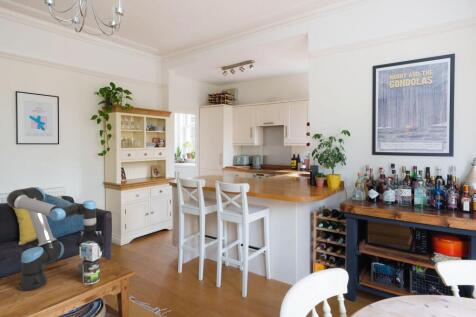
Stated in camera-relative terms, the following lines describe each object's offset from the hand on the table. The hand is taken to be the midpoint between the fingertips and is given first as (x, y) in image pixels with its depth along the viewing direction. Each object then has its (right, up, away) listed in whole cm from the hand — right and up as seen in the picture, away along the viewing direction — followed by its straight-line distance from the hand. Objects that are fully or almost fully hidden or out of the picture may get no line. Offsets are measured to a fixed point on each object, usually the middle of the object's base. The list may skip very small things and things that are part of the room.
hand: (90, 255), depth 190 cm
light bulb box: (0, -2, 0) cm, 2 cm away
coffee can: (0, -17, +1) cm, 17 cm away
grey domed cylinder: (-11, -17, +10) cm, 22 cm away
